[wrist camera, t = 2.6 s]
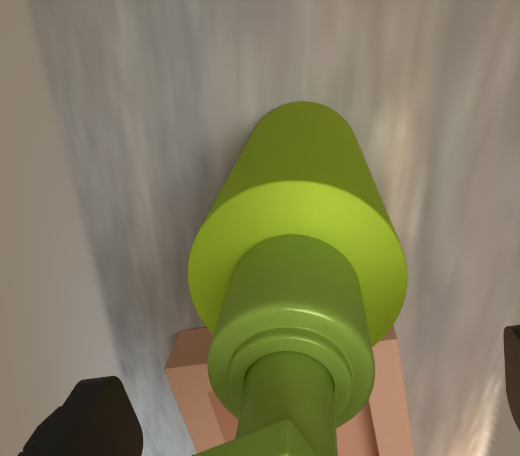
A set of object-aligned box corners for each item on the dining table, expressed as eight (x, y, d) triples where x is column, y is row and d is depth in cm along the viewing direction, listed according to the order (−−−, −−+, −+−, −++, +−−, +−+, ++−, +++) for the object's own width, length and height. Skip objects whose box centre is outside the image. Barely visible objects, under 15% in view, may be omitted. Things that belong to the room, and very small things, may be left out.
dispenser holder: (180, 331, 30) (164, 368, 26) (386, 301, 27) (397, 338, 24) (235, 482, 35) (227, 530, 31) (412, 468, 32) (424, 518, 29)
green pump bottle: (292, 242, 26) (253, 733, 8) (225, 139, 24) (-30, 480, 6) (387, 193, 25) (612, 674, 6) (323, 78, 23) (384, 294, 4)
